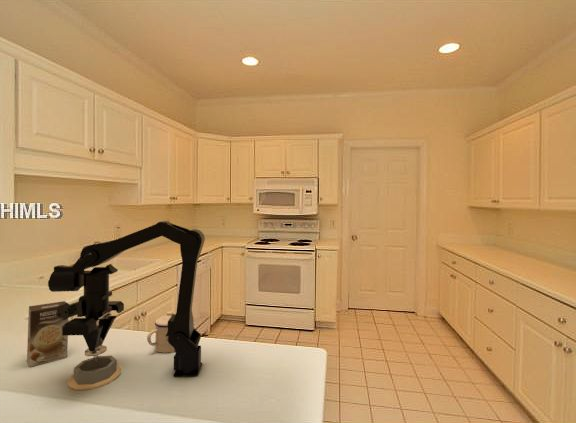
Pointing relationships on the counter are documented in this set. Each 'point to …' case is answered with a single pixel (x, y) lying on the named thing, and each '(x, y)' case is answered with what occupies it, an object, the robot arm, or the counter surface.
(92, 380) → the grey bowl
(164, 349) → the teacup with lid
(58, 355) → the coffee box
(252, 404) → the counter surface
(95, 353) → the plunger
